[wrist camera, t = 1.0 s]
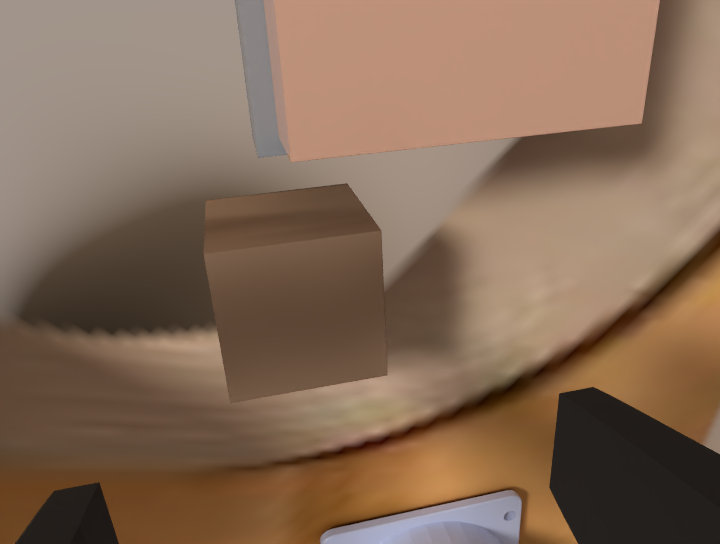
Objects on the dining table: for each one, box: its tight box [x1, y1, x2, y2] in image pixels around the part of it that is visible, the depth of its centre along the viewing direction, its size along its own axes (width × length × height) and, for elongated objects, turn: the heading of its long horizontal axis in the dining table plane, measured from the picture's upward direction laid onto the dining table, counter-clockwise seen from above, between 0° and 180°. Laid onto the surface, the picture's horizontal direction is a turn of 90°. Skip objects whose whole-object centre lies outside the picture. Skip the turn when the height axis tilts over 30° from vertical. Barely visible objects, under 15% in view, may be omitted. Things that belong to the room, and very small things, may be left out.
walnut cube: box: [204, 183, 387, 403], centre depth 16 cm, size 4×4×4 cm
